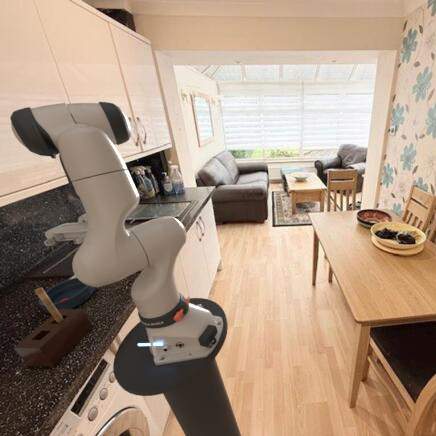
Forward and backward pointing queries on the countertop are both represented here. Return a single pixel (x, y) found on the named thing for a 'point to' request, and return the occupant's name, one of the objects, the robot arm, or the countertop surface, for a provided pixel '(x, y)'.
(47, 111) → the robot arm
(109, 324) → the countertop surface
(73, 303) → the bowl
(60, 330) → the utensil block
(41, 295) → the stirring stick
